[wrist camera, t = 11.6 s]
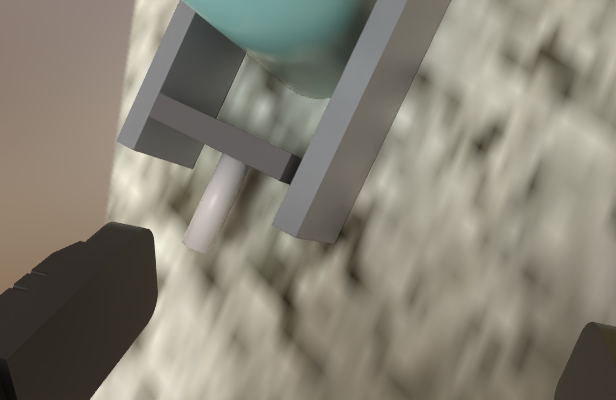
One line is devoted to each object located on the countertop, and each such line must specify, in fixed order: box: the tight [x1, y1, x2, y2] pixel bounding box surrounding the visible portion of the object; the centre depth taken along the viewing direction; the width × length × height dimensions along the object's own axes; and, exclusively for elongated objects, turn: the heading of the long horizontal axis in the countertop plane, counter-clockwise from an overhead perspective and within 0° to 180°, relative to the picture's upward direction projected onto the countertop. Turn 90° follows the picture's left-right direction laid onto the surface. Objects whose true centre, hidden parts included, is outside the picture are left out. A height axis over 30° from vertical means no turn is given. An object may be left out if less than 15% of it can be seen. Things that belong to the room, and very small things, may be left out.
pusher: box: [149, 93, 302, 254], centre depth 20 cm, size 5×6×4 cm
